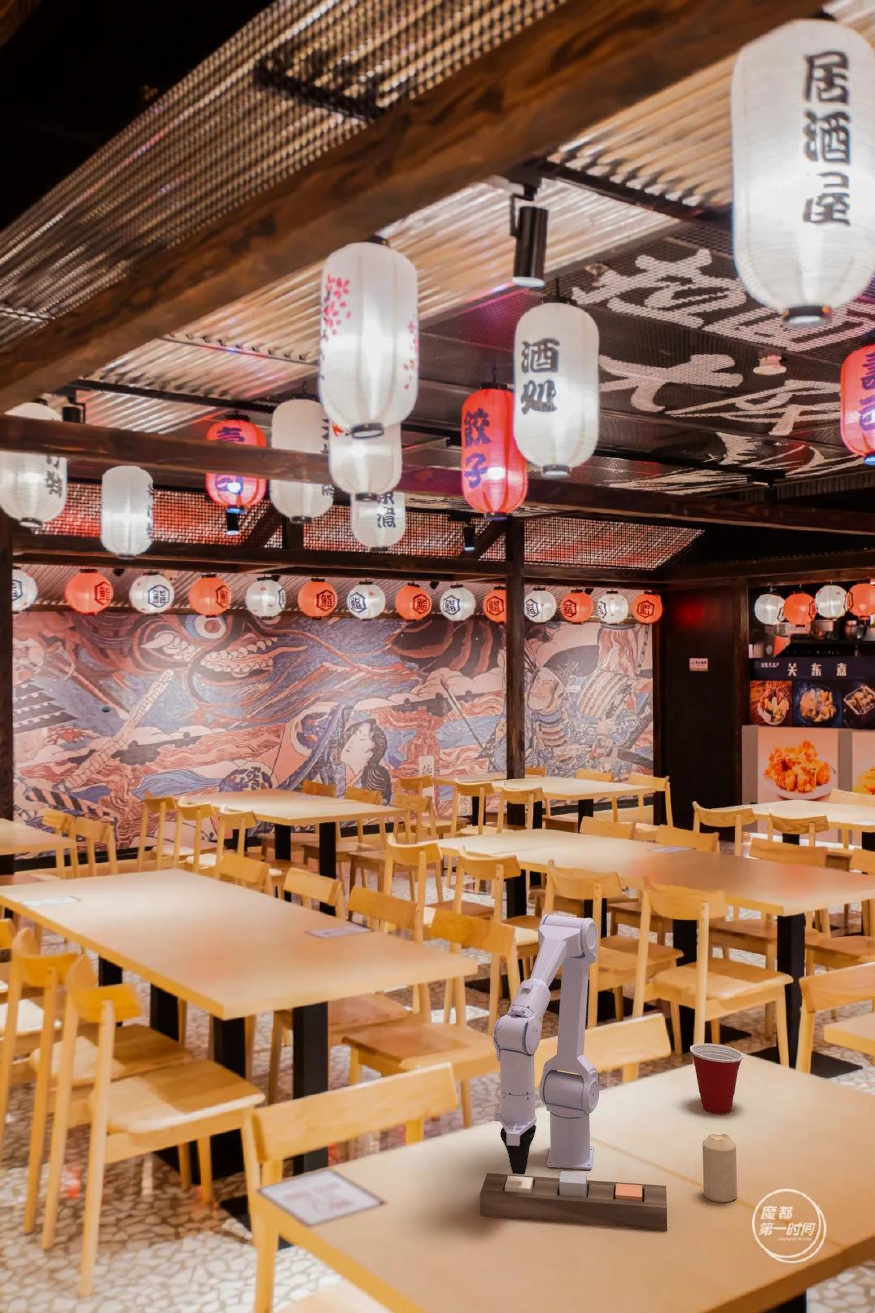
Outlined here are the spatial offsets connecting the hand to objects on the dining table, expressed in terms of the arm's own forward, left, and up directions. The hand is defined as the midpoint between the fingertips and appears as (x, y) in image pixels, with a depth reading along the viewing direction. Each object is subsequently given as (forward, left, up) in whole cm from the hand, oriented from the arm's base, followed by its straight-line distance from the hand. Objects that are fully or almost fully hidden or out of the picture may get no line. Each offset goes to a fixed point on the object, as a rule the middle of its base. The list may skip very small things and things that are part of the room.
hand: (519, 1172), depth 180 cm
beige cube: (0, 0, -5) cm, 5 cm away
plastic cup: (-50, +35, -6) cm, 61 cm away
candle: (-10, +33, -6) cm, 35 cm away
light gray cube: (0, +9, -4) cm, 10 cm away
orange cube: (0, +18, -5) cm, 19 cm away
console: (0, +9, -6) cm, 11 cm away
